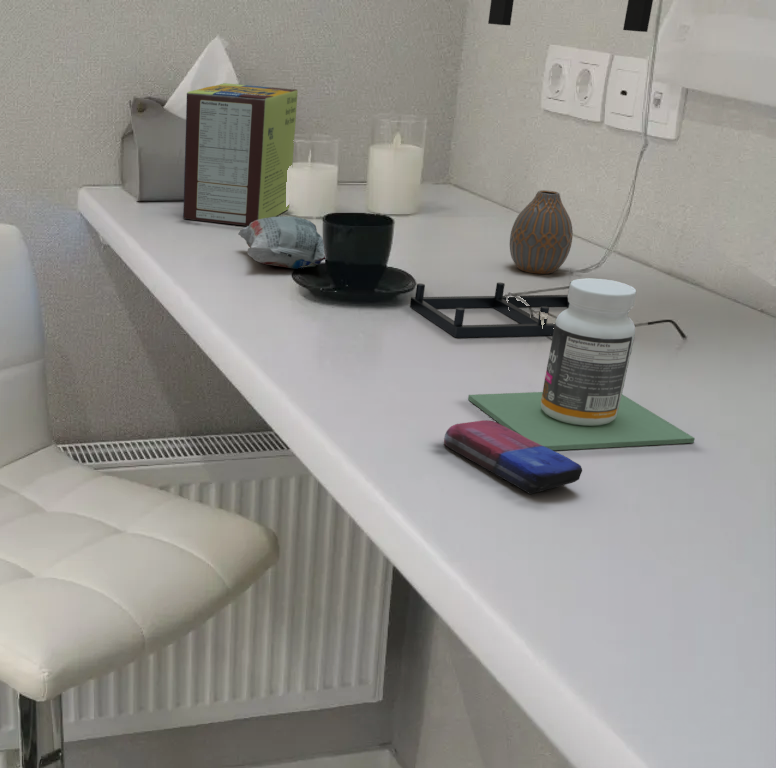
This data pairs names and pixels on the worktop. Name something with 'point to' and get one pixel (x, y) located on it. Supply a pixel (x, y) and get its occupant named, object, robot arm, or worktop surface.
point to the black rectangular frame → (498, 302)
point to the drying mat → (536, 425)
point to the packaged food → (284, 242)
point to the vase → (541, 234)
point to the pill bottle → (590, 353)
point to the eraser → (512, 456)
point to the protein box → (238, 152)
